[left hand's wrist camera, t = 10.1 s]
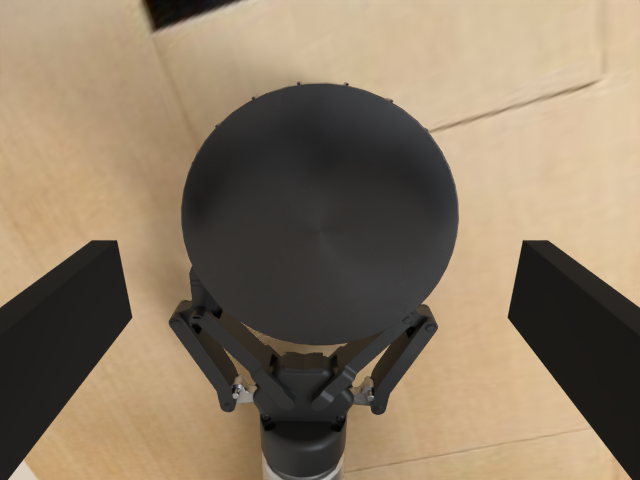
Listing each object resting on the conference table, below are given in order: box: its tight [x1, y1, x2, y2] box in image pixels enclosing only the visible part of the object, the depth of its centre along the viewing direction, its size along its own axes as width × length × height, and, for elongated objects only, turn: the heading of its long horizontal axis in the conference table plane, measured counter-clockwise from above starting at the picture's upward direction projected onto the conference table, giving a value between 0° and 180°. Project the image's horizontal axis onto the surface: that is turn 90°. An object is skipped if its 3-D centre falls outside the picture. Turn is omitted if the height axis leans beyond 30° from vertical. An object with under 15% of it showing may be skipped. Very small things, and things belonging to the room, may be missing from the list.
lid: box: [181, 82, 459, 345], centre depth 18 cm, size 11×11×2 cm
